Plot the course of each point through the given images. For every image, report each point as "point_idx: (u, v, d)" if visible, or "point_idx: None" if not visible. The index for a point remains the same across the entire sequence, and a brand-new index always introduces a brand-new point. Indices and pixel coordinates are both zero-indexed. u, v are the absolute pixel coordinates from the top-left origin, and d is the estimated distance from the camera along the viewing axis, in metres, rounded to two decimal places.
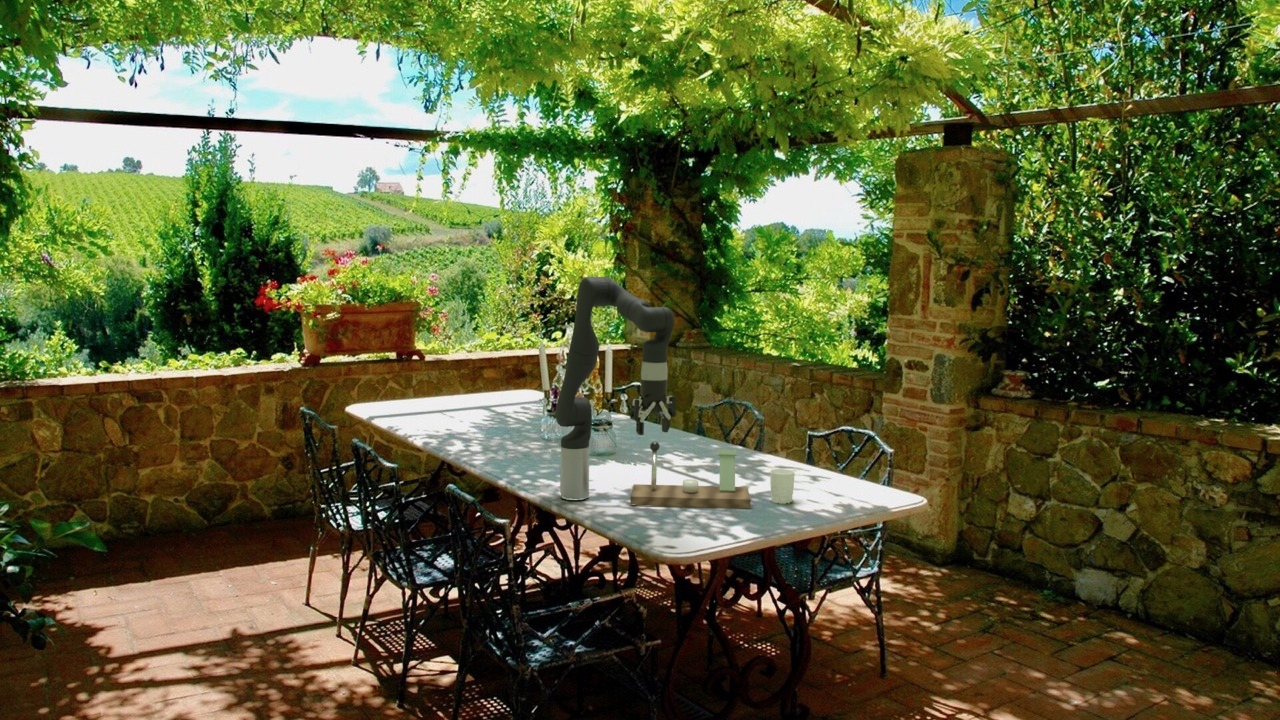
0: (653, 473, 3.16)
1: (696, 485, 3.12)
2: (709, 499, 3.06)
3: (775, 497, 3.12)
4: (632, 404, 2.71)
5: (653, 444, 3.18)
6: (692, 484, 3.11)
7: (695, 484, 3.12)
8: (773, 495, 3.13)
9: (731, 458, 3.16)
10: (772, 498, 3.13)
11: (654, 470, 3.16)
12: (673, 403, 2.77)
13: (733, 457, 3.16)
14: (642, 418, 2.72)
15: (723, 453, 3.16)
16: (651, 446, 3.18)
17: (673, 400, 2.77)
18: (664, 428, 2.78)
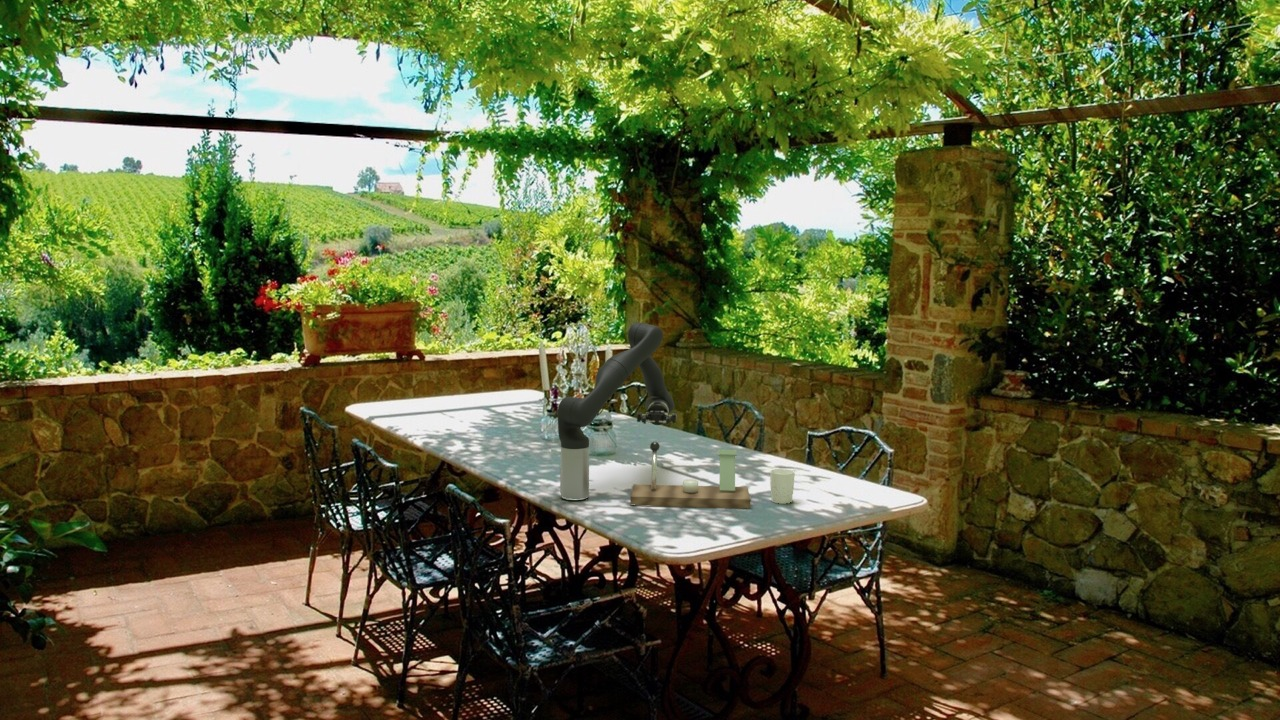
0: (653, 473, 3.16)
1: (696, 485, 3.12)
2: (709, 499, 3.06)
3: (775, 497, 3.12)
4: (676, 415, 3.32)
5: (653, 444, 3.18)
6: (692, 484, 3.11)
7: (695, 484, 3.12)
8: (773, 495, 3.13)
9: (731, 458, 3.16)
10: (772, 498, 3.13)
11: (654, 470, 3.16)
12: None
13: (733, 457, 3.16)
14: None
15: (723, 453, 3.16)
16: (651, 446, 3.18)
17: None
18: (645, 420, 3.25)
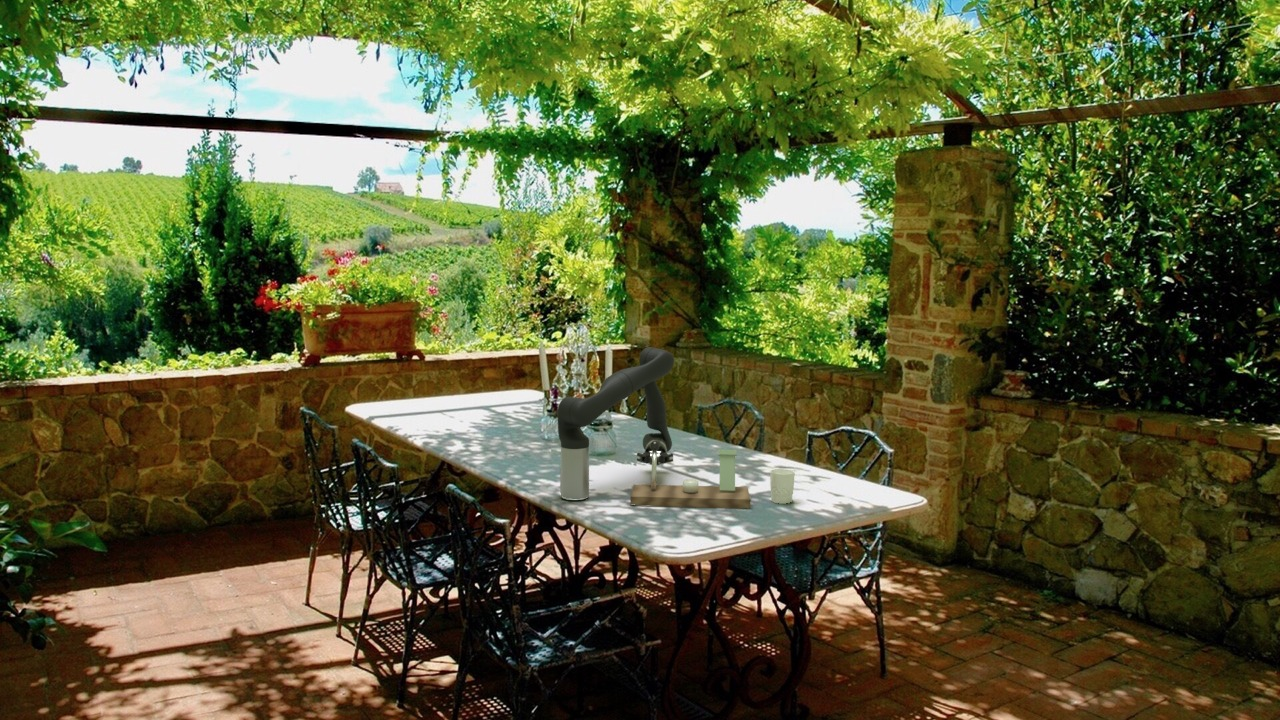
0: (653, 473, 3.15)
1: (696, 485, 3.12)
2: (709, 499, 3.06)
3: (775, 497, 3.12)
4: (671, 456, 3.25)
5: (653, 444, 3.17)
6: (692, 484, 3.11)
7: (695, 484, 3.12)
8: (773, 495, 3.13)
9: (731, 458, 3.16)
10: (772, 498, 3.13)
11: (654, 470, 3.15)
12: None
13: (733, 457, 3.16)
14: None
15: (723, 453, 3.16)
16: (651, 446, 3.17)
17: None
18: None
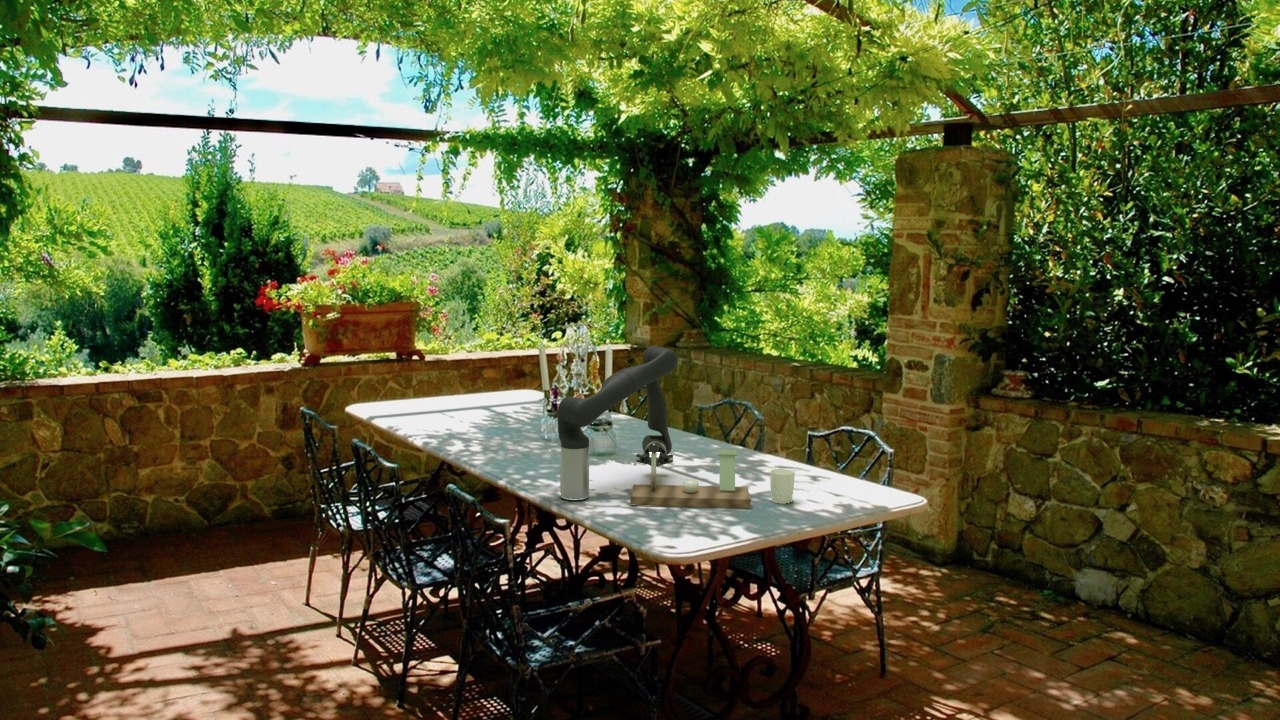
0: (653, 475, 3.12)
1: (696, 485, 3.12)
2: (709, 499, 3.06)
3: (775, 497, 3.12)
4: (670, 457, 3.20)
5: (652, 448, 3.09)
6: (692, 484, 3.11)
7: (695, 484, 3.12)
8: (773, 495, 3.13)
9: (731, 458, 3.16)
10: (772, 498, 3.13)
11: (654, 472, 3.12)
12: None
13: (733, 457, 3.16)
14: None
15: (723, 453, 3.16)
16: (650, 449, 3.10)
17: None
18: None
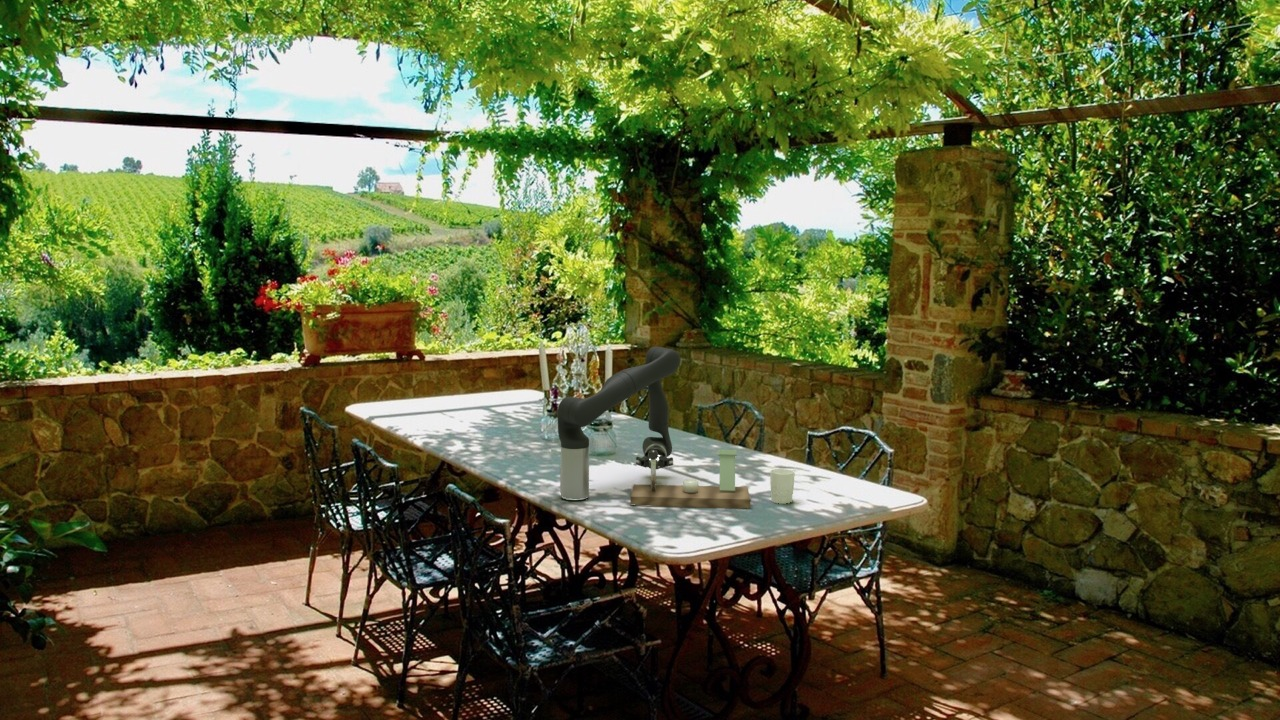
0: (652, 478, 3.11)
1: (696, 485, 3.12)
2: (709, 499, 3.06)
3: (775, 497, 3.12)
4: (670, 460, 3.18)
5: (651, 456, 3.05)
6: (692, 484, 3.11)
7: (695, 484, 3.12)
8: (773, 495, 3.13)
9: (731, 458, 3.16)
10: (772, 498, 3.13)
11: (653, 476, 3.10)
12: None
13: (733, 457, 3.16)
14: None
15: (723, 453, 3.16)
16: (649, 457, 3.06)
17: None
18: None
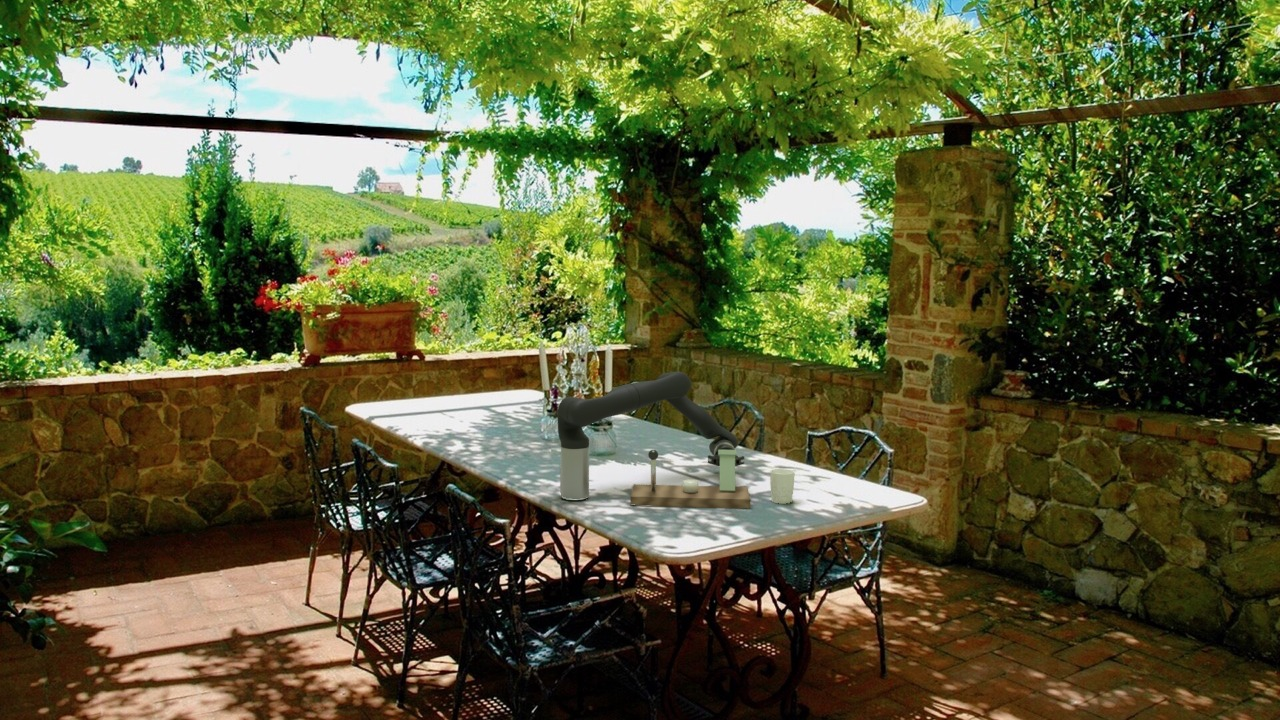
0: (652, 478, 3.11)
1: (696, 485, 3.12)
2: (709, 499, 3.06)
3: (775, 497, 3.12)
4: (742, 459, 3.24)
5: (651, 456, 3.05)
6: (692, 484, 3.11)
7: (695, 484, 3.12)
8: (773, 495, 3.13)
9: (731, 458, 3.16)
10: (772, 498, 3.13)
11: (653, 476, 3.10)
12: None
13: (733, 457, 3.16)
14: None
15: (723, 453, 3.16)
16: (649, 457, 3.06)
17: None
18: None
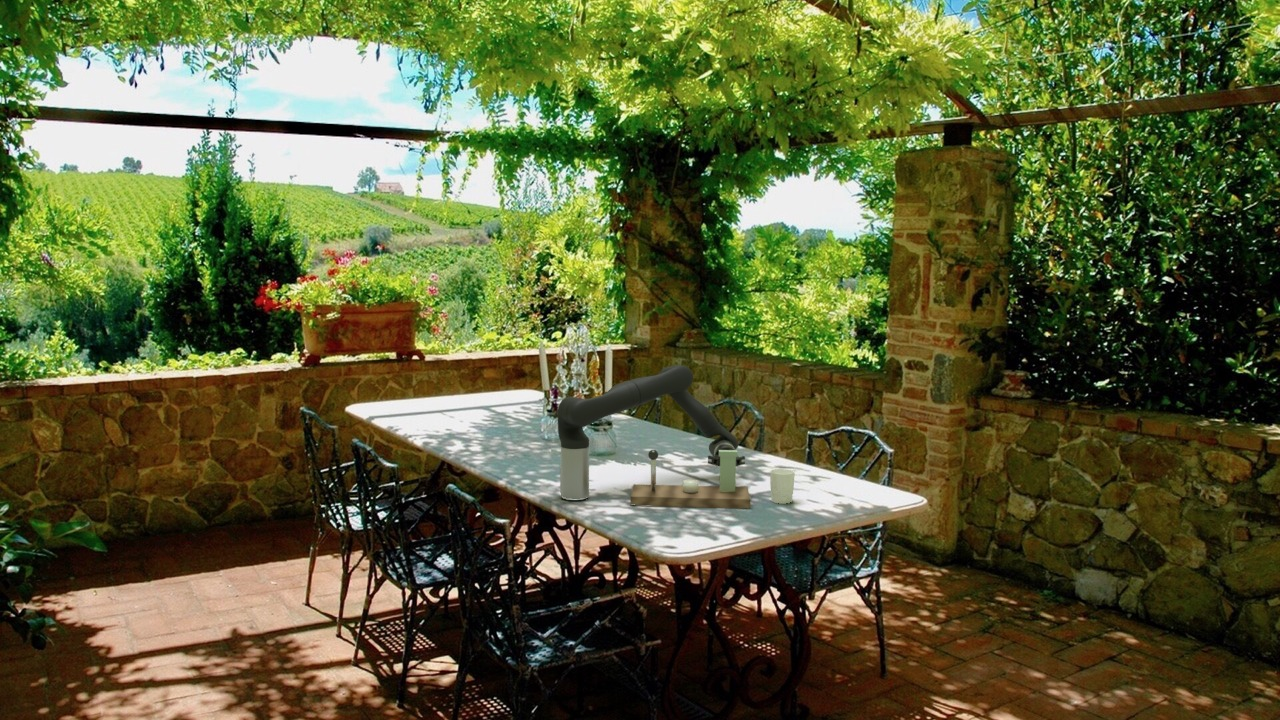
0: (652, 478, 3.11)
1: (696, 485, 3.12)
2: (709, 499, 3.06)
3: (775, 497, 3.12)
4: (742, 459, 3.19)
5: (651, 456, 3.05)
6: (692, 484, 3.11)
7: (695, 484, 3.12)
8: (773, 495, 3.13)
9: (732, 460, 3.11)
10: (772, 498, 3.13)
11: (653, 476, 3.10)
12: None
13: (734, 458, 3.11)
14: None
15: (724, 455, 3.10)
16: (649, 457, 3.06)
17: None
18: None
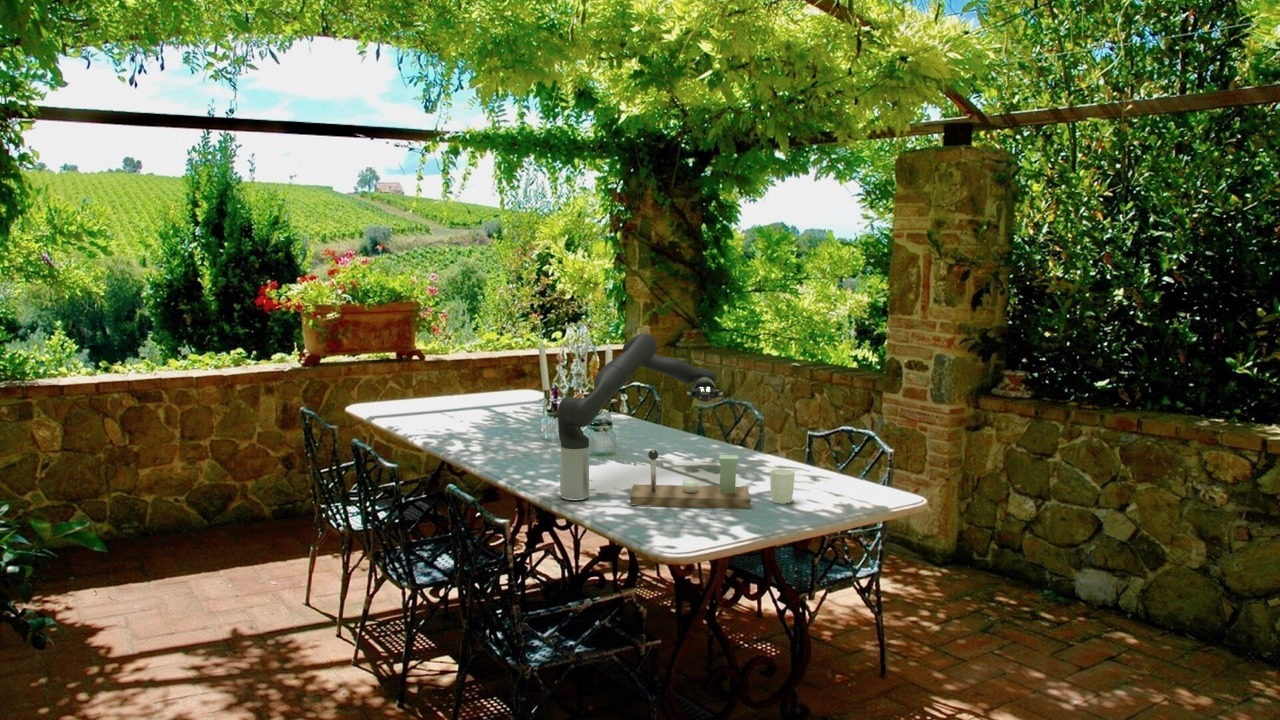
0: (652, 478, 3.11)
1: (696, 485, 3.12)
2: (709, 499, 3.06)
3: (775, 497, 3.12)
4: (720, 392, 3.33)
5: (651, 456, 3.05)
6: (692, 484, 3.11)
7: (695, 484, 3.12)
8: (773, 495, 3.13)
9: (732, 465, 3.07)
10: (772, 498, 3.13)
11: (653, 476, 3.10)
12: (691, 396, 3.33)
13: (734, 464, 3.07)
14: None
15: (724, 461, 3.06)
16: (649, 457, 3.06)
17: None
18: None
